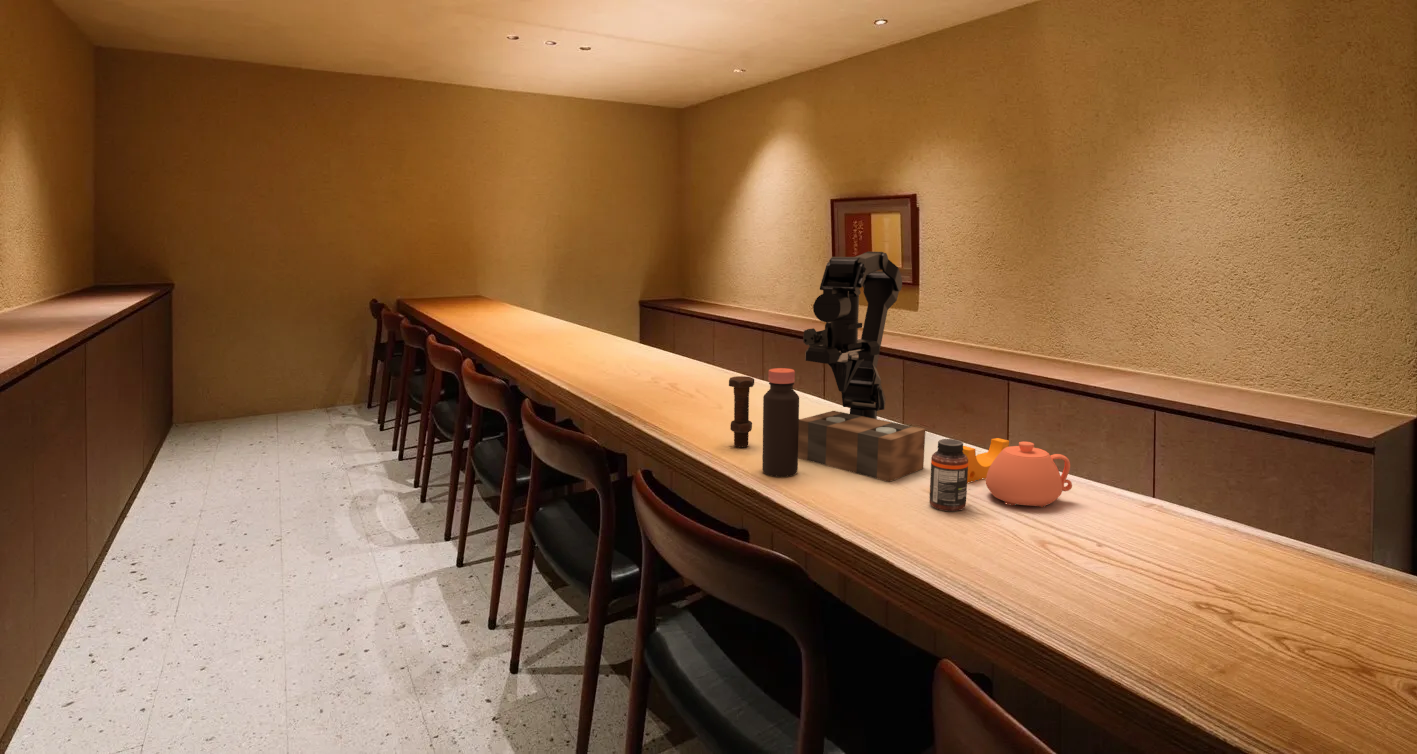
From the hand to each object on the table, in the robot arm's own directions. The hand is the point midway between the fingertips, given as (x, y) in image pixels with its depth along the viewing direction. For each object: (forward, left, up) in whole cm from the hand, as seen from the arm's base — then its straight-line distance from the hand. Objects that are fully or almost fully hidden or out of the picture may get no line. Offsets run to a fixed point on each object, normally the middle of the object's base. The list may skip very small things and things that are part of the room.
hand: (842, 391), depth 162 cm
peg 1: (+6, +3, -12) cm, 13 cm away
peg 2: (+6, +15, -11) cm, 20 cm away
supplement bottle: (+16, +34, -13) cm, 40 cm away
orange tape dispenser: (-4, +29, -13) cm, 32 cm away
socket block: (+6, +9, -12) cm, 17 cm away
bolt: (+14, -16, -13) cm, 25 cm away
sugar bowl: (+3, +42, -13) cm, 44 cm away
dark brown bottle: (+22, +2, -13) cm, 25 cm away
